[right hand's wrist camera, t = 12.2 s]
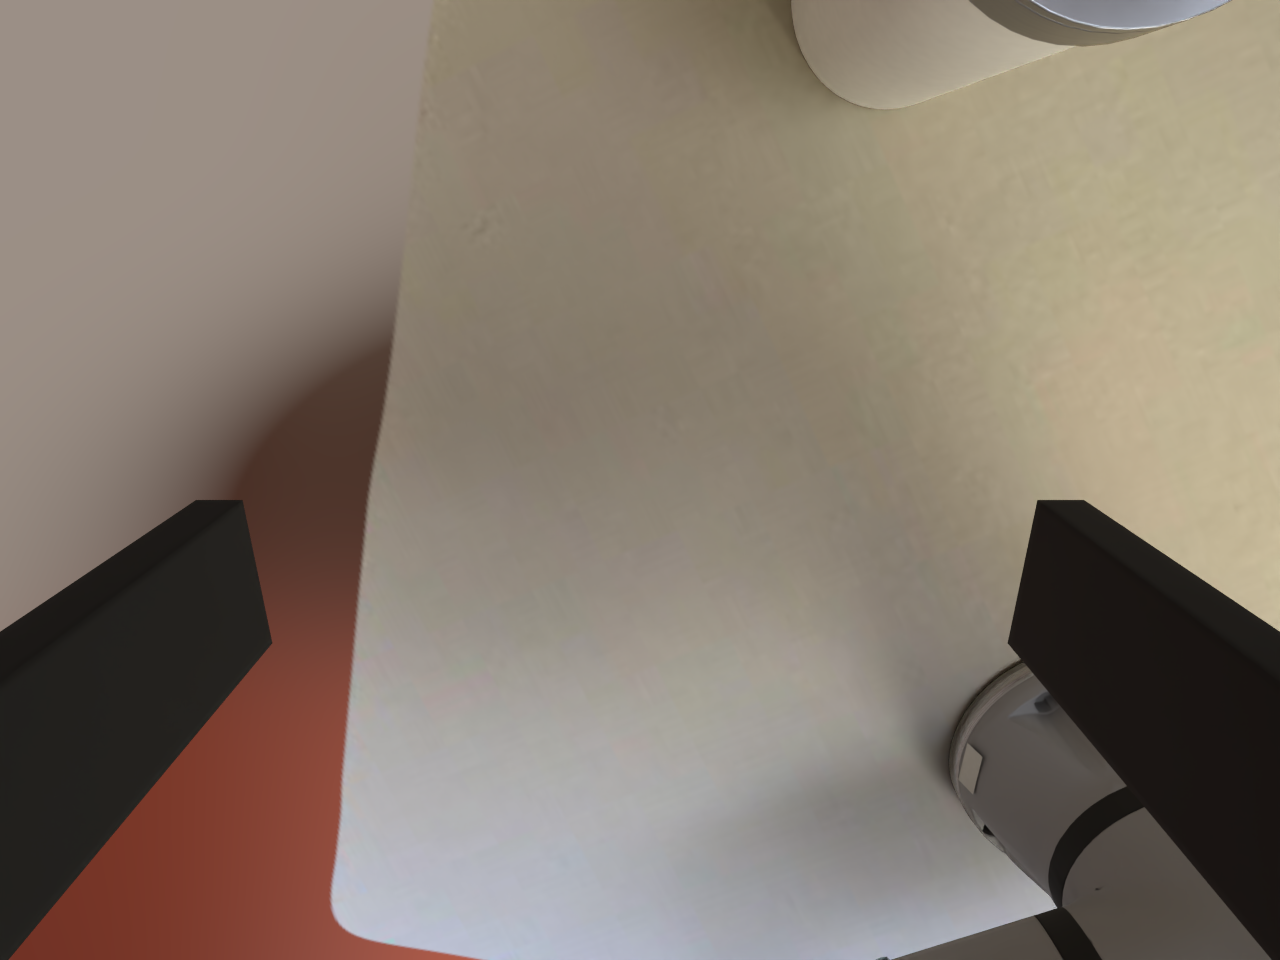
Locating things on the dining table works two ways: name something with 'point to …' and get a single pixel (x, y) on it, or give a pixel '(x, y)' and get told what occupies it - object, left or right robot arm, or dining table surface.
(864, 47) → the jar
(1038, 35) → the lid
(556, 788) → the dining table surface
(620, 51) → the dining table surface
